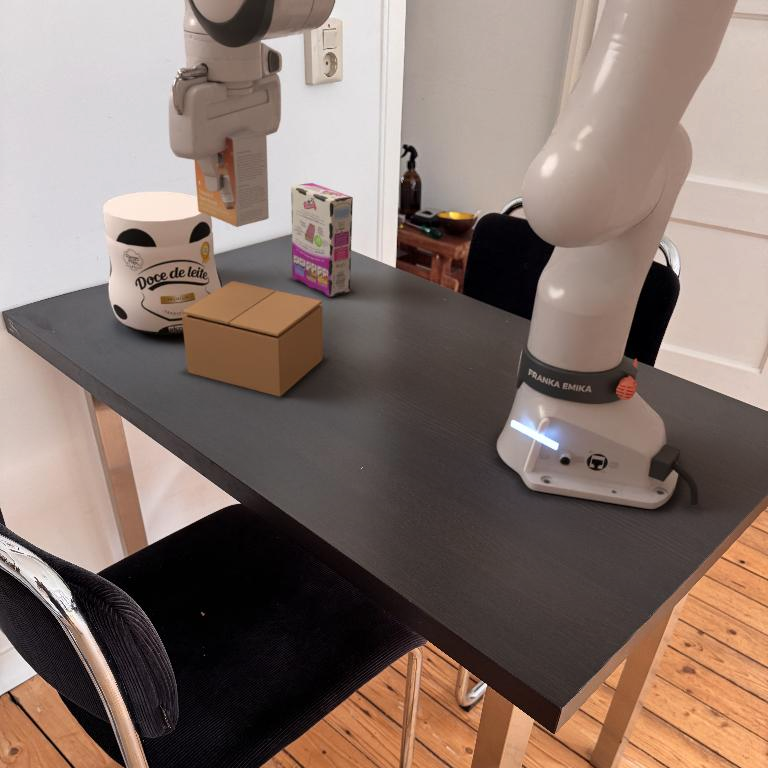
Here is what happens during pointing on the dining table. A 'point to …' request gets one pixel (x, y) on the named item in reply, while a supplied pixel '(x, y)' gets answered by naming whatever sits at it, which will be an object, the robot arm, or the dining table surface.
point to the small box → (238, 181)
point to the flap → (276, 313)
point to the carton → (248, 342)
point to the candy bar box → (321, 238)
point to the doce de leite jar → (158, 259)
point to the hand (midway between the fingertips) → (231, 182)
